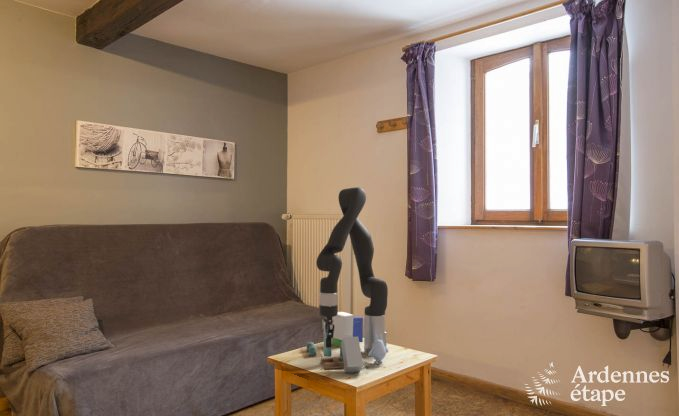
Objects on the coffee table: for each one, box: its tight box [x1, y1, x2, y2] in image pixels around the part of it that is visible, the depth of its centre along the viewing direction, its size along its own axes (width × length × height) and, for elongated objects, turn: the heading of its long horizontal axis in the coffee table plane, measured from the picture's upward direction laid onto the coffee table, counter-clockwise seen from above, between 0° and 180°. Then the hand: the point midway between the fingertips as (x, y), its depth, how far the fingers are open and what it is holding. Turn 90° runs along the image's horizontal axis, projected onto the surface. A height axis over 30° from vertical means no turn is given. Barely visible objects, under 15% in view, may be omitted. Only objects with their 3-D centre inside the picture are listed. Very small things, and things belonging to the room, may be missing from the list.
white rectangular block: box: [341, 337, 364, 374], centre depth 185 cm, size 6×12×6 cm
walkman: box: [353, 315, 364, 343], centre depth 229 cm, size 8×3×12 cm, turn 96°
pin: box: [323, 333, 333, 358], centre depth 191 cm, size 3×3×9 cm
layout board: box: [299, 341, 324, 359], centre depth 205 cm, size 8×13×5 cm, turn 13°
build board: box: [320, 343, 345, 371], centre depth 191 cm, size 11×8×9 cm
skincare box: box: [332, 311, 354, 347], centre depth 220 cm, size 8×7×16 cm
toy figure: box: [367, 334, 389, 365], centre depth 195 cm, size 11×6×12 cm, turn 125°
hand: (327, 345), depth 191 cm, fingers closed on pin, 3 cm apart
